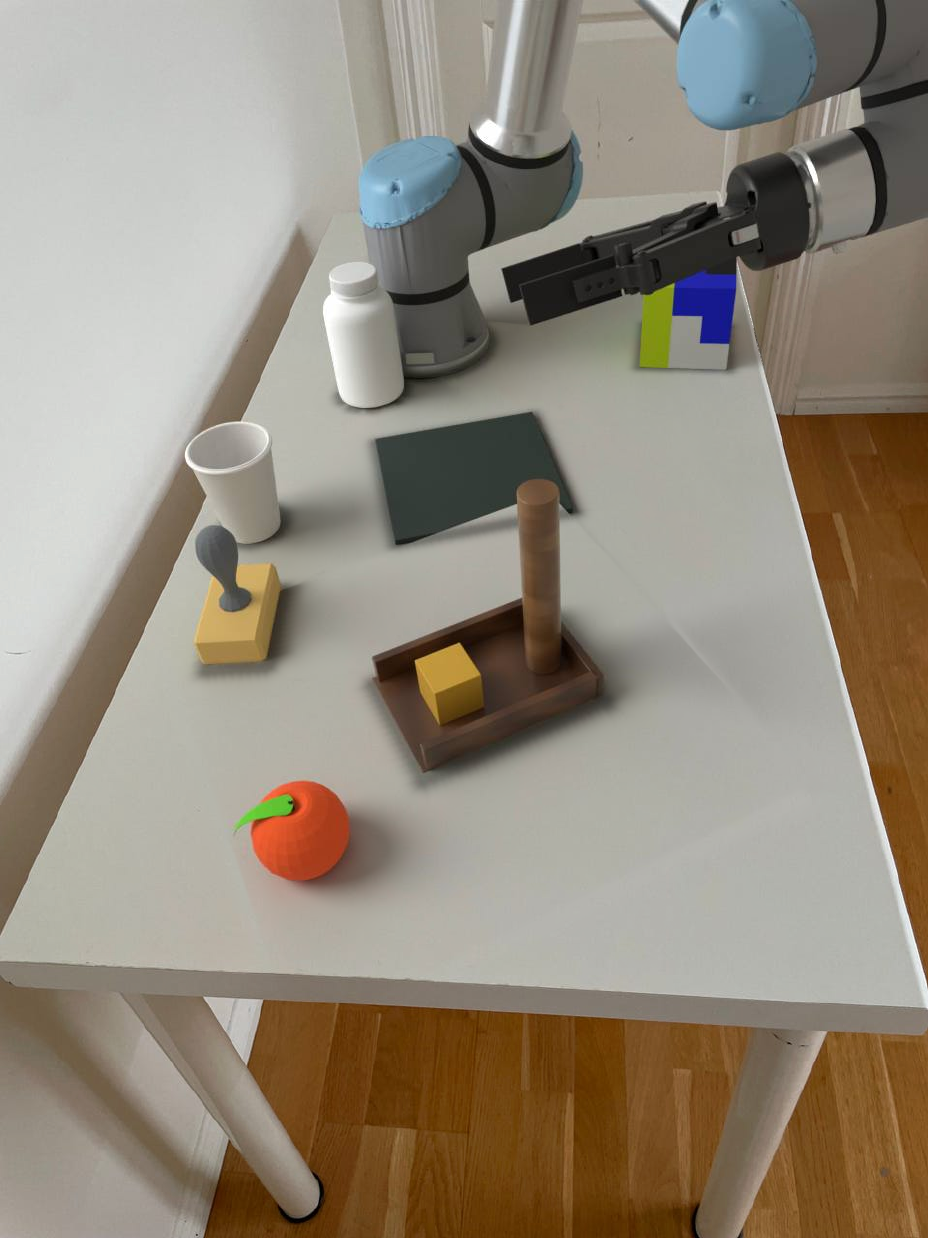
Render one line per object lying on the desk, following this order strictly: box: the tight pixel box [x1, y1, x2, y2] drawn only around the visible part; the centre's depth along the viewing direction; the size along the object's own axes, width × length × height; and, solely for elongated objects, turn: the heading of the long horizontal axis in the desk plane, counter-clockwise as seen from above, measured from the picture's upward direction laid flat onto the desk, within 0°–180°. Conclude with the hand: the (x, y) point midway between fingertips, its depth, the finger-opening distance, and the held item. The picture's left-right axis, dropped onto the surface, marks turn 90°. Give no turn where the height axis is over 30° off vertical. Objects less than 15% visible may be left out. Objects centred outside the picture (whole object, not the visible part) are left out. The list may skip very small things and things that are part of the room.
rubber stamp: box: [193, 524, 283, 665], centre depth 82 cm, size 10×6×12 cm, turn 0°
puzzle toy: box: [639, 257, 738, 371], centre depth 111 cm, size 10×10×10 cm
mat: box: [374, 411, 574, 545], centre depth 99 cm, size 18×18×1 cm
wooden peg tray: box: [371, 479, 605, 774], centre depth 72 cm, size 16×11×19 cm
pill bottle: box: [322, 261, 405, 409], centre depth 108 cm, size 8×8×15 cm
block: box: [415, 643, 484, 725], centre depth 75 cm, size 4×4×4 cm
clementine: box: [233, 780, 350, 882], centre depth 66 cm, size 8×7×7 cm
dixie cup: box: [184, 421, 282, 545], centre depth 93 cm, size 8×8×10 cm
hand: (513, 294), depth 70 cm, fingers open, 13 cm apart
